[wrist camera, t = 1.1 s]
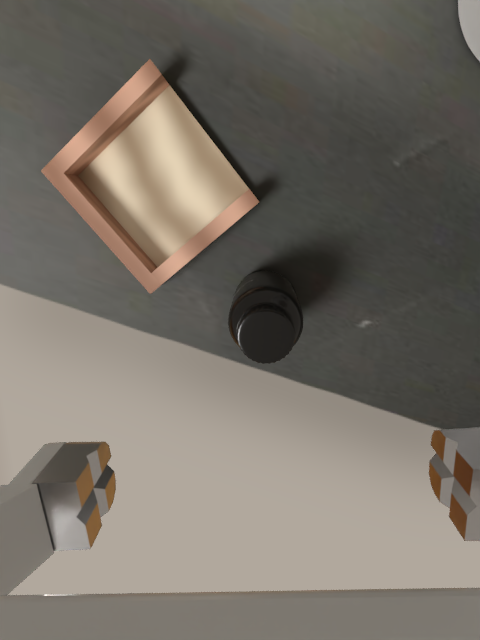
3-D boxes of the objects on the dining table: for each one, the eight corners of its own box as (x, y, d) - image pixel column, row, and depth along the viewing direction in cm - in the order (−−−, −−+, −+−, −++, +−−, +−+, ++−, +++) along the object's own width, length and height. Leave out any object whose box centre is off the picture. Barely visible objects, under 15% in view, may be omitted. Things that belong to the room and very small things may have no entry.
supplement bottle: (237, 265, 41) (229, 289, 30) (300, 273, 41) (316, 300, 30) (230, 325, 43) (220, 369, 32) (290, 333, 43) (302, 379, 32)
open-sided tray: (161, 74, 36) (149, 58, 32) (259, 202, 39) (259, 202, 35) (62, 174, 39) (40, 170, 35) (160, 285, 42) (150, 294, 38)
